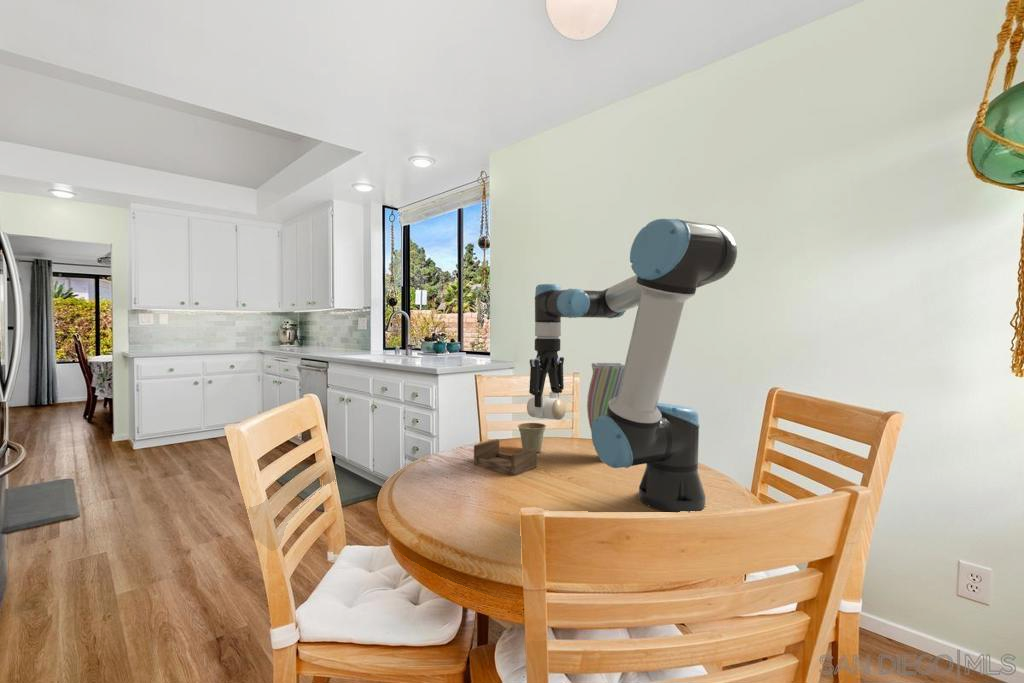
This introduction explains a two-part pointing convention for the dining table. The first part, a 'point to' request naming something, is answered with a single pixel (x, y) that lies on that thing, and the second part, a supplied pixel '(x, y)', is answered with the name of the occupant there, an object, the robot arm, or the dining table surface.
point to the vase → (603, 388)
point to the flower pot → (531, 435)
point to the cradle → (504, 458)
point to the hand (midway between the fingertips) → (546, 415)
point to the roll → (548, 408)
